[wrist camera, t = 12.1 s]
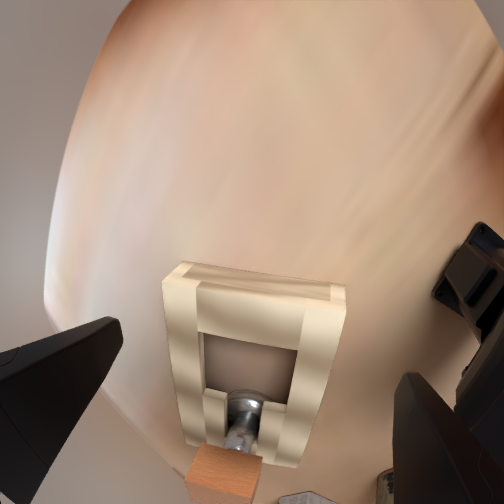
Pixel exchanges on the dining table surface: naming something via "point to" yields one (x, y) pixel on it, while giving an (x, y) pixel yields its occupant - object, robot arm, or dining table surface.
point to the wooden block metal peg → (230, 456)
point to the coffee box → (304, 499)
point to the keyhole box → (256, 331)
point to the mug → (385, 487)
